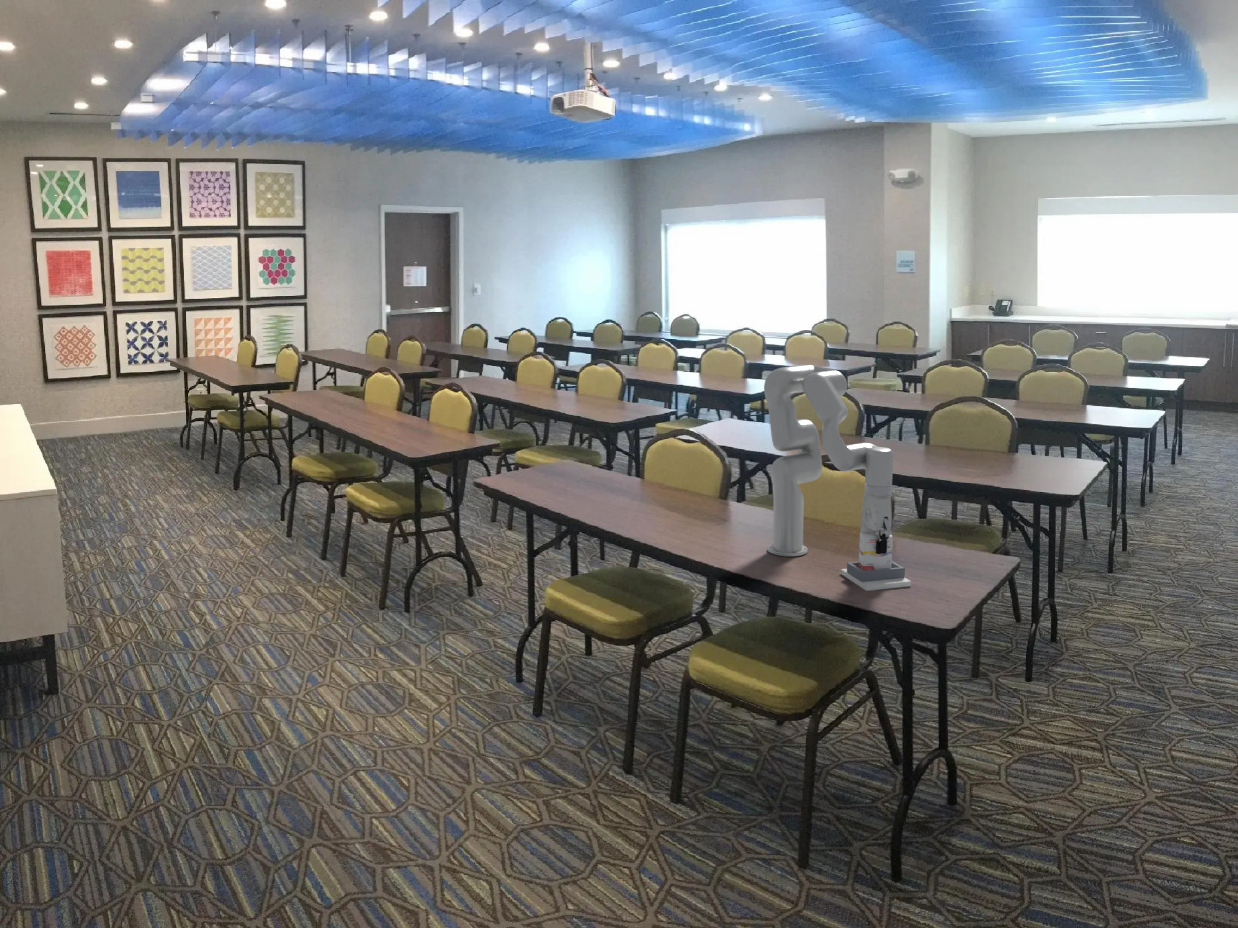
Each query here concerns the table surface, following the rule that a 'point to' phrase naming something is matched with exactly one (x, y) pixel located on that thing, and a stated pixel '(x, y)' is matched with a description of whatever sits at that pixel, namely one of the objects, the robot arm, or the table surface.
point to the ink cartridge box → (873, 551)
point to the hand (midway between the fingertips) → (875, 549)
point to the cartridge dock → (876, 577)
